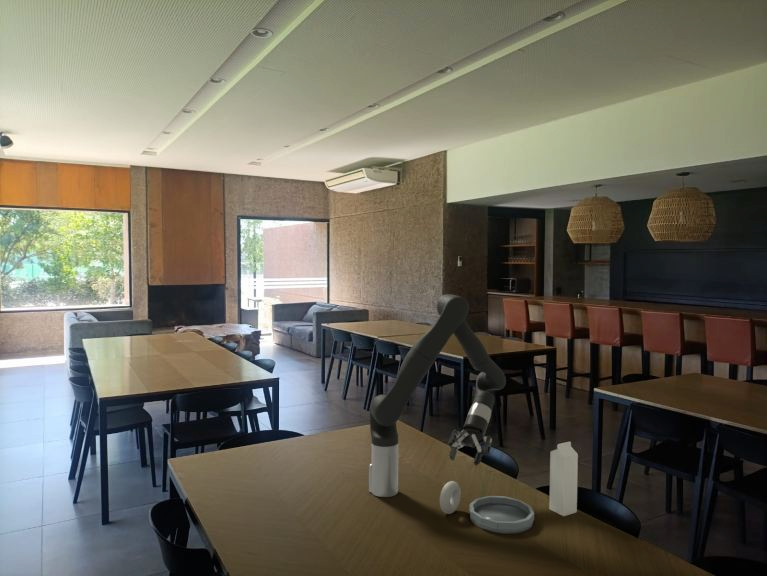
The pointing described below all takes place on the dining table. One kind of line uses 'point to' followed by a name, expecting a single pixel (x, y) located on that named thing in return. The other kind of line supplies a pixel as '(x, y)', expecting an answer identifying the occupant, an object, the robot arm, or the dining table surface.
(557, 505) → the milk
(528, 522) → the bowl
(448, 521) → the dining table surface
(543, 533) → the dining table surface
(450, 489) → the donut
